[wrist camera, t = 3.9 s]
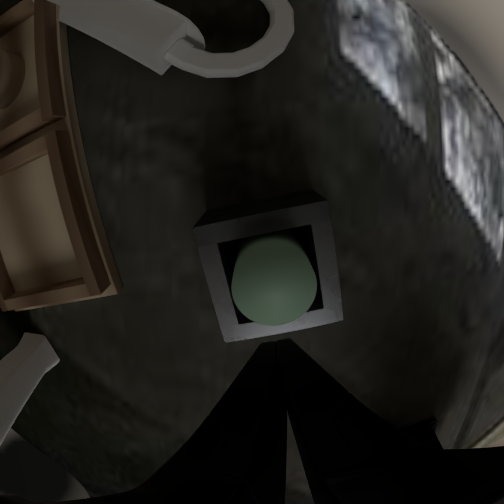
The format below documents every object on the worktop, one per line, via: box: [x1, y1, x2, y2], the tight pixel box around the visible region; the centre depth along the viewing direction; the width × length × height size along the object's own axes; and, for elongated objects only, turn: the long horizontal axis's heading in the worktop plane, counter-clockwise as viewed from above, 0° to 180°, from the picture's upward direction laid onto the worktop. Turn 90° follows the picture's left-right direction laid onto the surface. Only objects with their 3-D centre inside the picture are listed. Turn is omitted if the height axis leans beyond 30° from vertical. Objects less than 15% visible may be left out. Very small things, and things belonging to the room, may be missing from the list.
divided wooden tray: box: [0, 0, 123, 312], centre depth 15 cm, size 10×21×2 cm, turn 12°
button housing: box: [193, 189, 343, 343], centre depth 17 cm, size 6×6×4 cm
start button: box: [231, 229, 317, 326], centre depth 15 cm, size 4×4×4 cm
